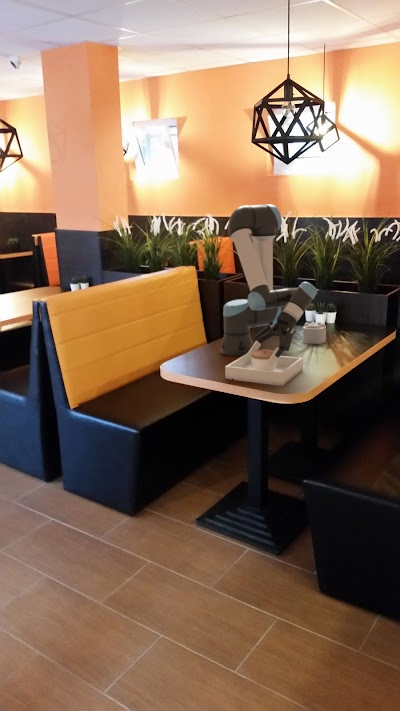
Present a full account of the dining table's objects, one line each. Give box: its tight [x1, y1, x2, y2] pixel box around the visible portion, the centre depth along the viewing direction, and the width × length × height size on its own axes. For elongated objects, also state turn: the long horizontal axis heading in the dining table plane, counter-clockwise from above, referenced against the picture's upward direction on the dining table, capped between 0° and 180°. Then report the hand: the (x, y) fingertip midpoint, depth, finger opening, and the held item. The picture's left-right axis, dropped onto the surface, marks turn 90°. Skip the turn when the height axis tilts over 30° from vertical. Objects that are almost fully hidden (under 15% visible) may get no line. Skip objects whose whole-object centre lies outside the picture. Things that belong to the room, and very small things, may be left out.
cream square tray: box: [224, 354, 304, 387], centre depth 236 cm, size 24×22×5 cm
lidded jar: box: [251, 348, 278, 371], centre depth 235 cm, size 11×11×9 cm
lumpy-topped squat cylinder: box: [302, 321, 327, 345], centre depth 284 cm, size 10×13×9 cm
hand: (259, 359), depth 234 cm, fingers open, 13 cm apart
